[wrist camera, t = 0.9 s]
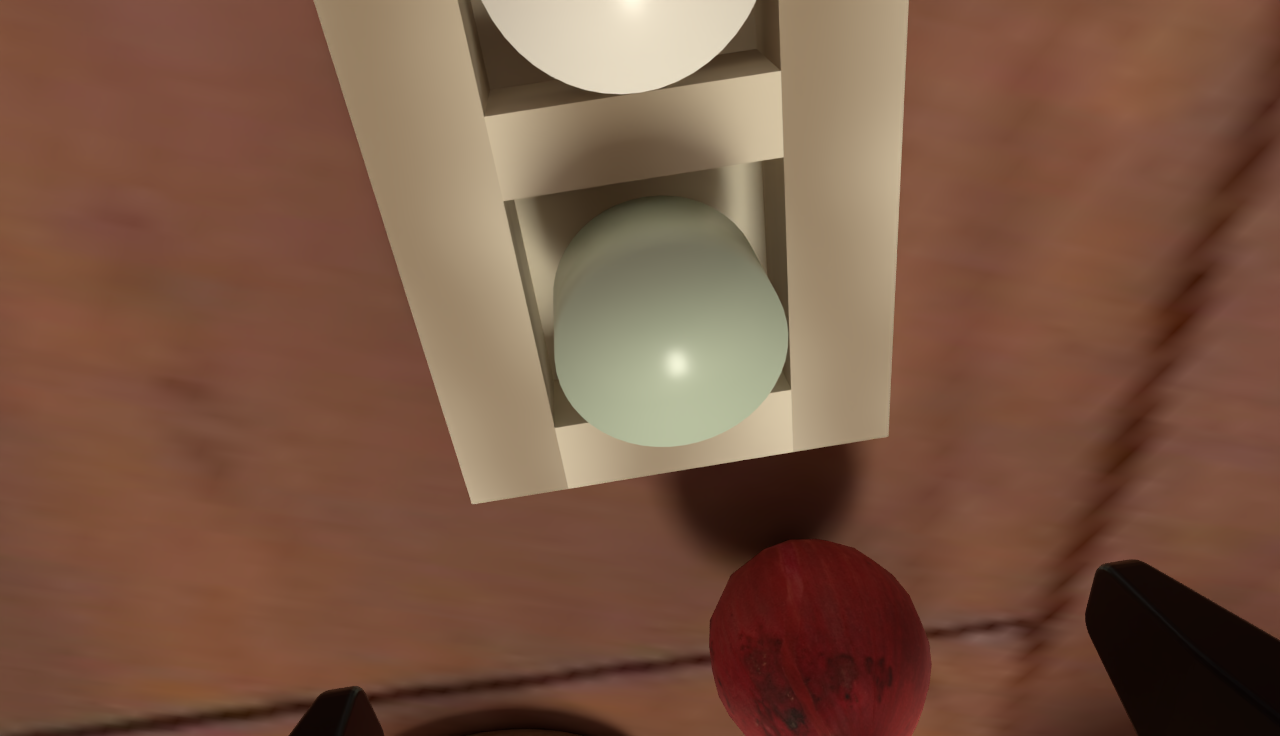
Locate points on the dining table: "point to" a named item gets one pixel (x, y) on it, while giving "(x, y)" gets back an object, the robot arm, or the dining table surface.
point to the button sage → (665, 323)
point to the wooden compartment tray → (615, 173)
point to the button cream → (619, 38)
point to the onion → (818, 645)
